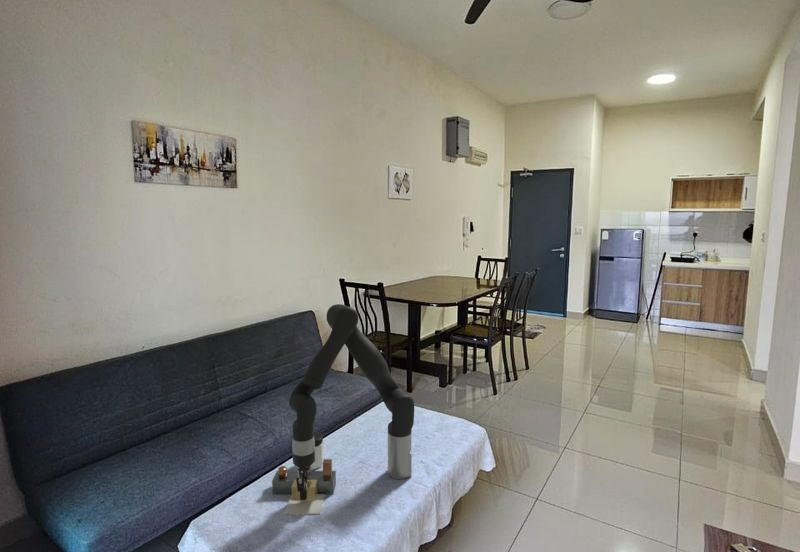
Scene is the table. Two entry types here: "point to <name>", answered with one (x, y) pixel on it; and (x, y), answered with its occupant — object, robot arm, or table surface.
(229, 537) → the table surface
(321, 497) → the felt mat
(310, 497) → the lever cap
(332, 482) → the body
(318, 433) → the jar
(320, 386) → the robot arm
